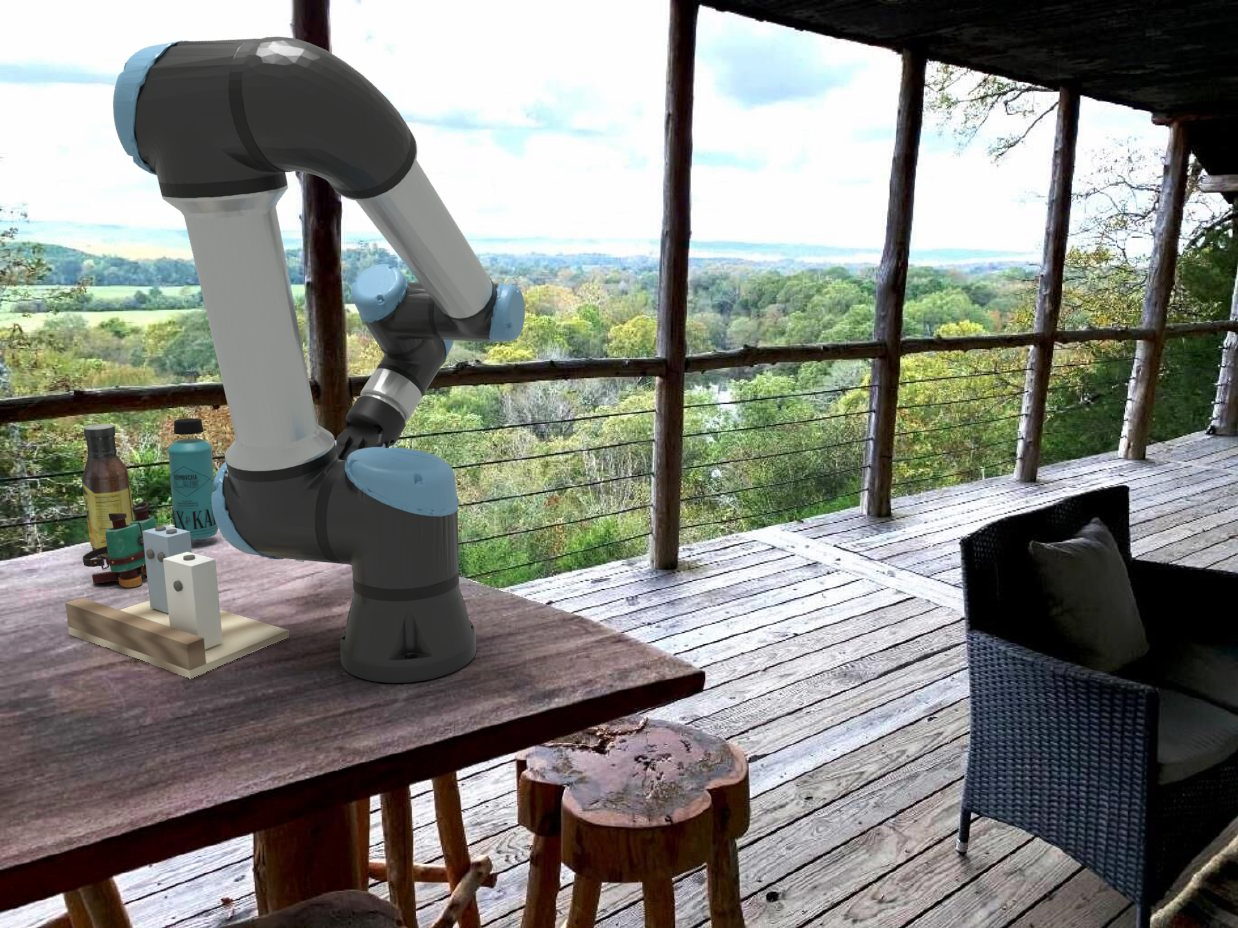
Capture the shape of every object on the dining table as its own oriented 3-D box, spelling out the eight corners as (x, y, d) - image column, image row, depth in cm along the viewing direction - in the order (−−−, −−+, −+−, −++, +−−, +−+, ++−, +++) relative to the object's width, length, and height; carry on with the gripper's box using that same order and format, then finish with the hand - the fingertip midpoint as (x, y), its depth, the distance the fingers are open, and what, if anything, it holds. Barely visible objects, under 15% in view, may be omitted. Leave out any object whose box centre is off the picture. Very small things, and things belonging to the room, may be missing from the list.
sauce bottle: (104, 546, 142) (89, 421, 138) (145, 546, 143) (132, 421, 138) (82, 560, 136) (66, 429, 132) (125, 559, 136) (111, 429, 132)
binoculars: (105, 501, 132) (165, 499, 129) (119, 571, 134) (178, 570, 131) (56, 517, 123) (119, 515, 121) (72, 592, 125) (134, 590, 123)
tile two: (197, 607, 114) (189, 529, 112) (172, 616, 112) (164, 535, 109) (172, 600, 117) (164, 523, 115) (148, 608, 114) (139, 529, 112)
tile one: (222, 642, 104) (215, 556, 102) (196, 652, 101) (188, 564, 99) (195, 633, 107) (187, 549, 104) (169, 643, 104) (160, 556, 102)
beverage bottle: (176, 539, 146) (164, 416, 142) (221, 535, 149) (210, 414, 145) (174, 551, 140) (161, 423, 136) (221, 546, 143) (210, 421, 139)
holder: (288, 638, 109) (286, 606, 108) (190, 679, 98) (187, 644, 97) (169, 601, 120) (166, 572, 119) (69, 634, 109) (65, 602, 108)
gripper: (432, 430, 126) (346, 579, 116) (364, 421, 133) (277, 561, 122) (403, 397, 120) (310, 550, 110) (334, 389, 127) (240, 533, 117)
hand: (293, 556), depth 116 cm, fingers closed
